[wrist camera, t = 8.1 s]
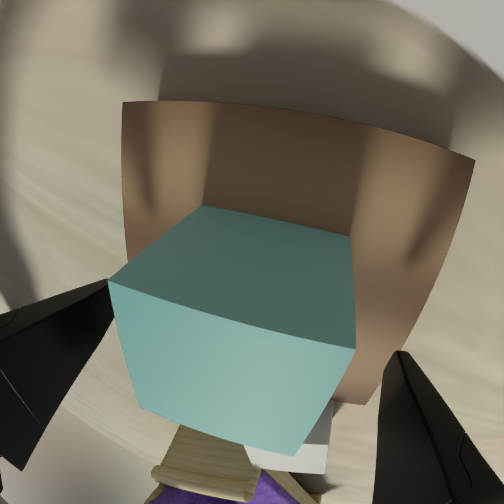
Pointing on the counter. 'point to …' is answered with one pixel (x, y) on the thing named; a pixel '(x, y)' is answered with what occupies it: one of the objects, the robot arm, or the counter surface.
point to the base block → (305, 200)
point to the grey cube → (300, 450)
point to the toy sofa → (219, 475)
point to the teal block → (238, 325)
